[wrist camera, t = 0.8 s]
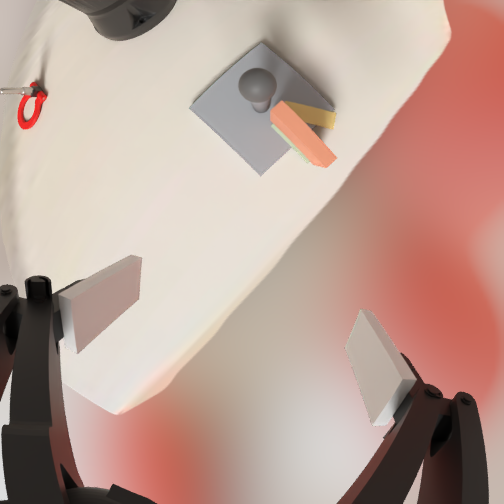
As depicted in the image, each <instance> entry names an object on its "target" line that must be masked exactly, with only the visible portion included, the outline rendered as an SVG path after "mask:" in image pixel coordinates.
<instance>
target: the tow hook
mask: <svg viewBox="0 0 504 504" xmlns="http://www.w3.org/2000/svg"><path fill="white" fill-rule="evenodd" d="M0 94H21V95H24V96H23V98H22V100H21V102H20V105H19V108H18V123H19V126H20V127H21V128H22V129H29V128H31V127H32V126H33V125H34V124H35V122H36V121H37V119H38V117H39V114H40V110H41V104H42V103H43V101H45V100H46V98H47V96H46V95H45V94H44V93H43V91H42V89H41V88H40V87H39V86H38V85H37V84H36V83H35V82H32V83H31V84H30V87H23V88H1V89H0ZM30 97H37V98H36V100H35V110H34V113H33V116H32V118H31V119H30V120H29V121H28V122H26V121H25V120H24V118H23V110H24V106H25V103H26V102H27V100H28V99H29V98H30Z"/></svg>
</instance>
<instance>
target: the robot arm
mask: <svg viewBox="0 0 504 504" xmlns="http://www.w3.org/2000/svg"><path fill="white" fill-rule="evenodd" d="M59 1H61V2H64V3H66V4H68V5H70V6H71V7H73V8H75V9H77V10H79V11H81V12H83V13H85V14H87V15H88V17H89V19H90V20H91V22H92V23H93V25H94V28H95V29H96V31H97V32H98V33H99V34H100V35H102V36H104V37H106V38H108V39H110V40H114V41H123V40H128V39H132V38H135V37H137V36H140V35H142V34H144V33H145V32H147V31H149V30H150V29H152V28H153V27H155V26H156V25H157V24H159V23H160V22H161V21H162V20H163V19H164V18H165V17H166V16H167V15H168V13H169V12H170V11H171V9H172V8H173V6H174V4H175V2H176V0H59ZM141 264H142V258H141V257H138V256H134V255H130V256H128V257H126V258H124V259H122V260H120V261H118V262H116V263H114V264H112V265H110V266H109V267H107V268H105V269H103V270H101V271H99V272H97V273H95V274H94V275H92V276H90V277H88V278H86V279H82V280H78V281H75V282H74V283H72V284H70V285H68V286H66V287H65V288H63V289H61V290H59V291H57V292H55V293H54V294H52V287H51V280H50V279H49V278H48V277H45V276H32V277H29V278H28V279H26V280H25V289H26V296H27V299H25V298H21V297H19V296H18V290H17V288H16V287H15V286H13V285H8V284H7V285H2V286H1V287H0V401H1V398H2V395H3V392H4V389H5V387H6V384H7V382H8V379H9V377H10V374H11V372H12V370H13V372H12V383H11V395H10V396H11V397H10V423H9V425H3V427H2V434H1V436H2V458H3V468H4V477H5V484H6V490H7V496H8V500H4V501H0V504H157V503H155V502H153V501H152V500H150V499H148V498H146V497H143V496H141V495H138V494H136V493H133V492H131V491H128V490H126V489H124V488H121V487H119V486H117V485H115V484H113V485H112V486H111V488H110V490H108V489H103V488H97V487H84V485H83V482H82V480H81V478H80V476H79V473H78V471H77V467H76V464H75V460H74V456H73V452H72V448H71V443H70V438H69V433H68V428H67V422H66V416H65V410H64V401H63V393H62V381H61V367H60V346H59V341H60V340H61V339H62V338H63V337H64V343H65V348H67V349H69V350H70V351H72V352H74V353H76V354H78V353H79V352H80V351H82V350H83V349H84V348H85V347H86V346H87V345H88V344H89V343H90V342H91V341H92V340H94V339H95V338H96V337H97V336H98V335H99V334H100V333H101V332H102V331H103V330H105V329H106V328H107V327H108V326H109V325H110V324H111V323H112V322H114V321H115V320H116V319H117V318H118V317H119V316H120V315H121V314H123V313H124V312H125V311H126V310H127V309H128V308H129V307H131V306H132V305H133V304H134V303H135V302H136V301H137V300H139V292H140V277H141ZM345 350H346V353H347V355H348V358H349V361H350V363H351V366H352V369H353V371H354V375H355V377H356V380H357V383H358V386H359V389H360V391H361V394H362V397H363V400H364V403H365V406H366V409H367V412H368V415H369V418H370V421H371V424H372V426H377V425H378V426H381V425H387V423H388V422H389V421H390V419H391V418H392V417H393V418H394V420H395V423H394V425H393V426H392V427H391V428H390V430H389V431H388V432H387V434H386V435H385V436H384V437H383V438H384V440H383V442H382V443H381V445H380V447H379V448H378V450H377V451H376V453H375V454H374V456H373V457H372V459H371V460H370V462H369V463H368V465H367V466H366V467H365V469H364V470H363V471H362V473H361V474H360V475H359V477H358V478H357V479H356V481H355V482H354V483H353V485H352V486H351V487H350V488H349V490H348V491H347V492H346V493H345V495H344V496H343V497H342V498H341V499H340V500H339V501H338V503H337V504H403V502H404V500H405V498H406V496H407V494H408V492H409V490H410V488H411V486H412V484H413V482H414V480H415V478H416V476H417V473H418V471H419V469H420V466H421V464H422V462H423V459H424V462H423V470H422V478H421V485H420V491H419V496H418V501H417V504H489V489H488V472H487V461H486V453H485V445H484V439H483V434H482V428H481V422H480V417H479V413H478V408H477V405H476V401H475V399H474V398H473V397H472V396H471V395H470V394H468V393H465V392H458V393H457V394H456V395H455V397H454V398H453V399H452V400H451V399H446V398H443V394H442V392H441V391H440V390H439V389H438V388H436V387H435V386H433V385H430V384H425V383H424V382H423V380H422V379H421V377H420V376H419V374H418V373H417V371H415V368H414V366H412V363H411V362H410V360H409V359H408V358H407V357H406V356H405V355H404V354H402V353H400V352H399V351H398V349H397V348H396V346H395V345H394V343H393V341H392V340H391V338H390V337H389V336H388V334H387V333H386V331H385V330H384V328H383V327H382V325H381V324H380V322H379V321H378V319H377V318H376V317H375V315H374V314H373V312H372V311H369V310H365V309H360V311H359V314H358V316H357V319H356V322H355V324H354V326H353V329H352V331H351V334H350V336H349V338H348V341H347V343H346V346H345Z"/></svg>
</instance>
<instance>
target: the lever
mask: <svg viewBox="0 0 504 504" xmlns="http://www.w3.org/2000/svg"><path fill="white" fill-rule="evenodd" d="M238 88H239V91H240V93H241V95H242V96H243V97H244V98H245V99H246V100H248V101H250V102H251V105H252V107H253V109H254V110H255V111H256V112H258V113H264V112H266V111H268V110H269V108H270V98H272V97H273V95H274V94H275V92H276V89H277V82H276V79H275V77H274V76H273V74H272V73H271V72H269V71H268V70H266V69H263V68H252V69H249V70H247V71H246V72H244V73H243V74H242V75H241V77H240V79H239V82H238ZM270 121H271V122H272V123H273V124H274V125H275V126H276V127H277V128H278V129H279V130H280V131H281V132H282V133H283V134H284V135H285V136H286V137H287V138H288V139H289V140H290V141H291V142H292V143H293V144H294V145H295V146H296V147H297V148H298V149H299V150H300V151H301V152H302V153H303V154H304V155H305V156H306V157H307V159H308V160H309V161H310V162H311V163H312V164H313V165H316V166H320V167H324V168H327V167H328V166H329V165H330V164H331V163H332V162H333V161H335V160H336V159H337V157H336V156H335V155H334V154H333V153H332V151H331V150H330V149H329V148H328V147H327V146H326V145H325V144H324V143H323V141H322V140H321V139H320V138H319V137H318V136H317V135H316V134H315V133H314V132H313V131H312V130H311V129H310V128H309V127H308V125H307V124H306V123H305V122H304V121H303V120H302V119H301V118H300V117H299V116H298V115H297V114H296V113H295V112H294V111H293V110H292V109H291V108H290V107H289V106H288V105H286V104H285V103H284V102H283V101H280V102H279V103H278V104H277V105H276V106H275V107H274V108H273V109H271V110H270Z"/></svg>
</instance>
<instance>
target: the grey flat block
mask: <svg viewBox="0 0 504 504" xmlns="http://www.w3.org/2000/svg"><path fill="white" fill-rule="evenodd" d="M252 68H263V69H266V70H268V71H269V72H271V73H272V74H273V76H274V77H275V79H276V82H277V89H276V92H275V94H274V95H273V97H272V98H270V108H269V110H268V111H266V112H264V113H258V112H256V111H255V110H254V109H253V107H252V105H251V102H250V101H248V100H246V99H245V98H244V97H243V96H242V95H241V93H240V91H239V88H238V82H239V79H240V77H241V75H242V74H243V73H244V72H246V71H247V70H249V69H252ZM280 101H283V102H284V103H285V104H286V105H288V106H289V107H290V108H291V109H292V110H293V111H294V112H295V113H296V114H297V115H298V116H299V117H300V118H301V119H302V120H303V121H304V122H305V123H306V124H307V125H308V127H309V128H310V129H311V130H312V129H313V128H314V127H315V126H316V125H318V126H322V127H325V128H329V129H333V128H334V122H335V117H336V113H334V112H332V111H334V110H335V109H334V108H333V107H332V106H331V105H330V104H329V103H328V102H327V101H326V100H325V99H324V98H323V97H322V96H321V95H320V94H319V93H318V92H317V91H316V90H315V89H314V88H313V87H312V86H311V85H310V84H309V83H308V82H307V81H306V80H305V79H304V78H303V77H302V76H301V75H300V74H298V73H297V72H296V71H295V70H294V69H293V68H292V67H291V66H289V65H288V64H287V63H286V62H285V61H284V60H283V59H281V58H280V57H279V56H278V55H277V54H275V53H274V52H273V51H272V50H271V49H269V48H268V47H267V46H266V45H264V44H263V43H262V42H261V43H260V44H259V45H257V46H256V47H255V48H254V49H252V50H251V51H250V52H249V53H247V54H246V55H245V56H244V57H243V58H241V59H240V60H239V61H238V62H237V63H236V64H234V65H233V66H232V67H231V68H230V69H229V70H228V71H226V72H225V73H224V74H223V75H222V76H221V77H220V78H219V79H218V80H217V81H216V82H215V83H213V84H212V85H211V86H210V87H209V88H208V89H207V90H206V91H205V92H204V93H203V94H202V95H201V96H200V97H199V98H198V99H197V100H196V101H195V102H194V103H193V104H192V105H191V106H190V107H189V109H190V110H191V111H193V112H194V113H195V114H196V115H197V116H198V117H199V118H200V119H201V120H203V121H204V122H205V123H206V124H207V125H208V126H209V127H210V128H211V129H212V130H213V131H214V132H216V133H217V134H218V135H219V136H220V137H221V138H222V139H223V140H224V141H225V142H226V143H227V144H228V145H229V146H230V147H231V148H232V149H233V150H234V151H236V152H237V153H238V154H239V155H240V156H241V157H242V158H243V159H244V160H245V161H246V162H247V163H248V164H249V165H250V166H251V167H252V168H253V169H254V170H255V171H256V172H257V173H258V174H259V175H260V176H261V175H262V174H264V173H265V172H266V171H267V170H268V169H269V168H270V167H271V166H272V165H273V164H274V163H275V162H276V161H277V160H278V159H280V158H281V157H282V156H283V155H284V154H285V153H286V152H287V151H288V150H289V149H290V148H293V149H294V150H295V151H296V152H297V153H298V154H299V155H300V156H301V157H302V158H303V159H304V161H305V162H306V163H307V164H308V163H309V162H310V161H309V160H308V159H307V157H306V156H305V155H304V154H303V153H302V152H301V151H300V150H299V149H298V148H297V147H296V146H295V145H294V144H293V143H292V142H291V141H290V140H289V139H288V138H287V137H286V136H285V135H284V134H283V133H282V132H281V131H280V130H279V129H278V128H277V127H276V126H275V125H274V124H273V123H272V122H271V121H270V110H271V109H273V108H274V107H275V106H276V105H277V104H278V103H279V102H280Z"/></svg>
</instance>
